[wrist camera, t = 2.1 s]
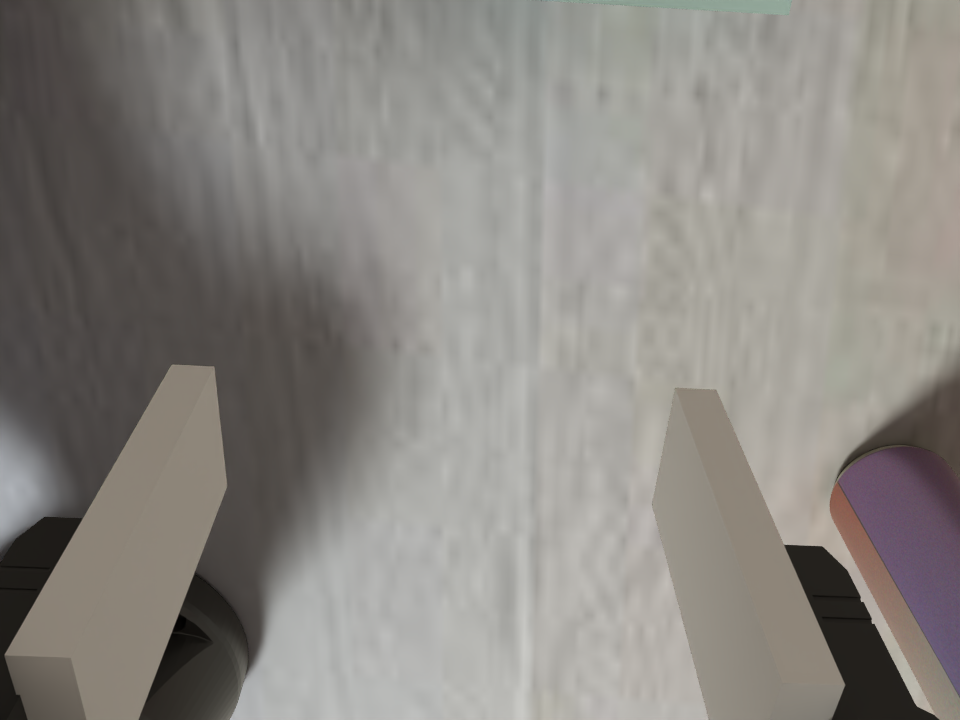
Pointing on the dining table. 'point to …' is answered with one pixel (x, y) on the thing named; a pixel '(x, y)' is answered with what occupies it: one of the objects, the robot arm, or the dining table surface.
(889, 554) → the beverage can
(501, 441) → the dining table surface
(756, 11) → the keypad
